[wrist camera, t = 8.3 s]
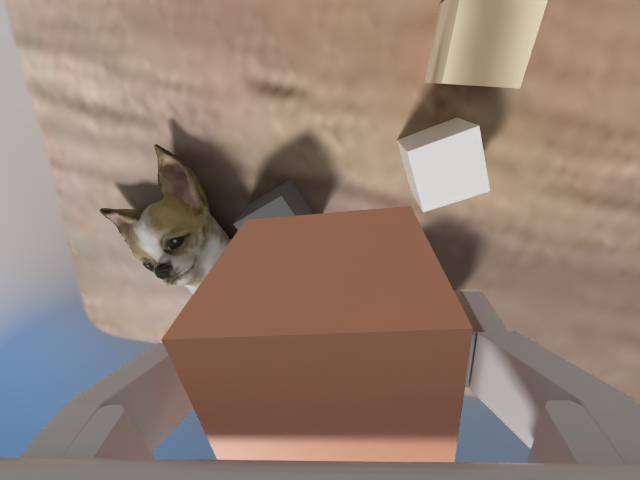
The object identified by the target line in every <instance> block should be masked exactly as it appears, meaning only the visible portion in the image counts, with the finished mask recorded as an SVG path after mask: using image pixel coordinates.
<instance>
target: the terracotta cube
mask: <svg viewBox="0 0 640 480" xmlns="http://www.w3.org/2000/svg"><path fill="white" fill-rule="evenodd" d="M472 333H473V327H472V325H471V323H470V321H469V320H468V318H467V316H466V314H465V312H464V310H463V308H462V306H461V304H460V302H459V300H458V298H457V296H456V294H455V292H454V290H453V288H452V286H451V284H450V282H449V280H448V278H447V276H446V275H445V273H444V271H443V269H442V267H441V265H440V263H439V261H438V259H437V257H436V255H435V253H434V251H433V249H432V247H431V245H430V243H429V241H428V239H427V237H426V235H425V233H424V232H423V230H422V228H421V226H420V224H419V222H418V220H417V218H416V216H415V214H414V212H413V210H412V208H411V206H409V207H396V208H384V209H372V210H360V211H347V212H335V213H323V214H311V215H298V216H286V217H274V218H261V219H249V220H245V221H244V223H243V224H242V226H241V227H240V228H239V230H238V231H237V233H236V234H235V236H234V237H233V238H232V240H231V241H230V243H229V244H228V246H227V247H226V248H225V250H224V251H223V253H222V254H221V255H220V257H219V258H218V260H217V261H216V263H215V264H214V265H213V267H212V268H211V270H210V271H209V273H208V274H207V275H206V277H205V278H204V280H203V281H202V283H201V284H200V285H199V287H198V288H197V290H196V291H195V293H194V294H193V295H192V297H191V298H190V300H189V301H188V303H187V304H186V305H185V307H184V308H183V310H182V311H181V313H180V314H179V315H178V317H177V318H176V320H175V321H174V322H173V324H172V325H171V327H170V328H169V330H168V331H167V332H166V334H165V335H164V337H163V338H162V342H163V344H164V346H165V348H166V351H167V353H168V355H169V357H170V359H171V361H172V363H173V365H174V368H175V370H176V372H177V374H178V376H179V378H180V380H181V383H182V385H183V387H184V389H185V391H186V393H187V395H188V398H189V400H190V402H191V404H192V406H193V408H194V410H195V413H196V414H197V417H198V419H199V421H200V423H201V425H202V427H203V429H204V432H205V434H206V436H207V438H208V440H209V442H210V445H211V447H212V449H213V451H214V453H215V455H216V457H217V460H284V461H371V462H454V461H455V454H456V447H457V440H458V433H459V426H460V419H461V411H462V404H463V397H464V390H465V383H466V376H467V368H468V361H469V354H470V347H471V340H472Z"/></svg>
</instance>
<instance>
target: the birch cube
mask: <svg viewBox="0 0 640 480" xmlns="http://www.w3.org/2000/svg"><path fill="white" fill-rule="evenodd" d="M547 1H548V0H445V1H443V2H442V3H441V4H439V9H438V14H437V19H436V25H435V30H434V35H433V41H432V46H431V51H430V57H429V62H428V68H427V73H426V78H425V83H438V84H455V85H471V86H488V87H505V88H520V87H521V83H522V80H523V77H524V74H525V71H526V68H527V64H528V61H529V58H530V55H531V52H532V49H533V46H534V42H535V39H536V36H537V33H538V30H539V27H540V24H541V20H542V17H543V14H544V11H545V8H546V5H547Z"/></svg>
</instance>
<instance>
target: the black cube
mask: <svg viewBox="0 0 640 480" xmlns="http://www.w3.org/2000/svg"><path fill="white" fill-rule="evenodd" d="M311 214H314V212H313V211H312V209H311V208H310V206H309V205H308V203H307V202H306V200H305V199H304V197H303V196H302V194H301V193H300V191H299V190H298V188H297V187H296V185H295V184H294V182H293V181H292V179H291V178H290V179H289V180H287V181H285V182H284V183H282V184H280V185H279V186H277V187H275V188H274V189H272V190H271V191H269V192H267V193H266V194H264V195H262V196H261V197H259V198H257V199H256V200H254V201H252V202H251V203H249V204H248V205H247V207H246V208H245V209H244V211H243V212H242V213H241V215H240V216H239V217H238V218H237V220H236V221H235V222H234V224H233V225H234V226H235V227H236V229H237V230H239V228H240V227H241V226H242V224H243V223H244V221H245V220H249V219H261V218H274V217H286V216H298V215H311Z"/></svg>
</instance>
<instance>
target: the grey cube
mask: <svg viewBox="0 0 640 480" xmlns="http://www.w3.org/2000/svg"><path fill="white" fill-rule="evenodd" d="M397 142H398V145H399V149H400V153H401V156H402V160H403V163H404V167H405V171H406V174H407V178H408V182H409V185H410V189H411V192H412V194H413V196H414V197H415V199H416V201H417V203H418V204H419V206H420V208H421V209H422V211H423V212H426V211H429V210H432V209H435V208H439V207H442V206H445V205H448V204H451V203H454V202H458V201H461V200H464V199H467V198H470V197H473V196H477V195H480V194H483V193H486V192H489V191H490V188H489V182H488V175H487V169H486V163H485V157H484V151H483V145H482V138H481V132H480V126H479V125H476V124H474V123H471V122H468V121H465V120H462V119H460V118H457V117H456V118H454V119H451V120H448V121H446V122H443V123H440V124H438V125H435V126H433V127H430V128H427V129H425V130H422V131H419V132H417V133H414V134H411V135H409V136H406V137H403V138H401V139H398V140H397Z"/></svg>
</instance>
